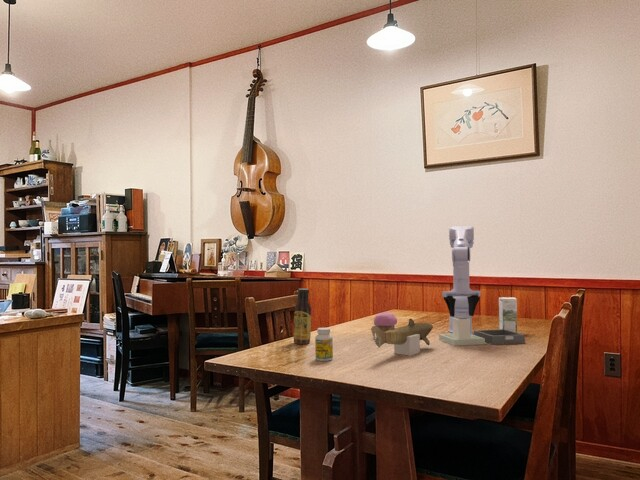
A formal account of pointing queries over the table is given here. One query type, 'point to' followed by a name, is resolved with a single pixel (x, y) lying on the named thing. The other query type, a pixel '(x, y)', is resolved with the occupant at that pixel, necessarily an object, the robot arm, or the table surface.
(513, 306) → the syrup box
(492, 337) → the gray rectangular frame
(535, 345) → the table surface
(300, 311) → the sauce bottle
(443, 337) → the tray
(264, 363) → the table surface
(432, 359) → the table surface
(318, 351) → the supplement bottle
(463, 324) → the module block
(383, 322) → the cupcake
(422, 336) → the wood carving
